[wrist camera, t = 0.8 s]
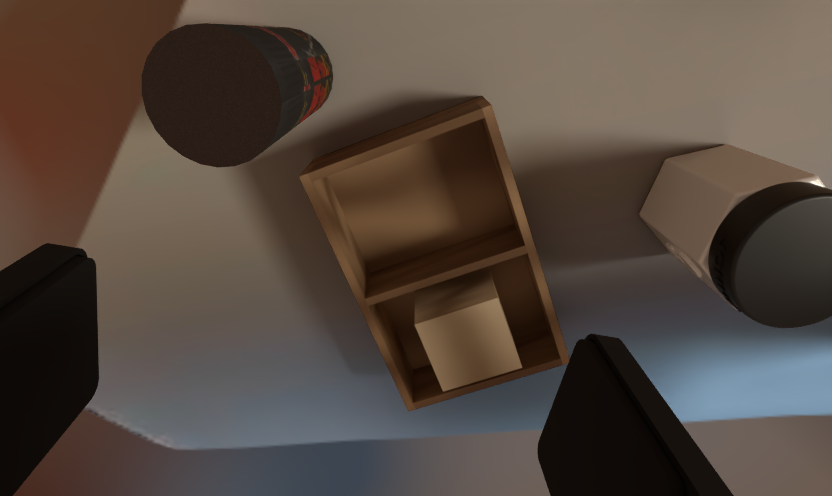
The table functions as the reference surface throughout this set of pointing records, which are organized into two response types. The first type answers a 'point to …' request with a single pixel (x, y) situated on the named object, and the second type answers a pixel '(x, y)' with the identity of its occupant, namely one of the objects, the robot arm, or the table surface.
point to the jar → (748, 232)
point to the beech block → (465, 329)
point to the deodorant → (232, 88)
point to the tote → (434, 238)
